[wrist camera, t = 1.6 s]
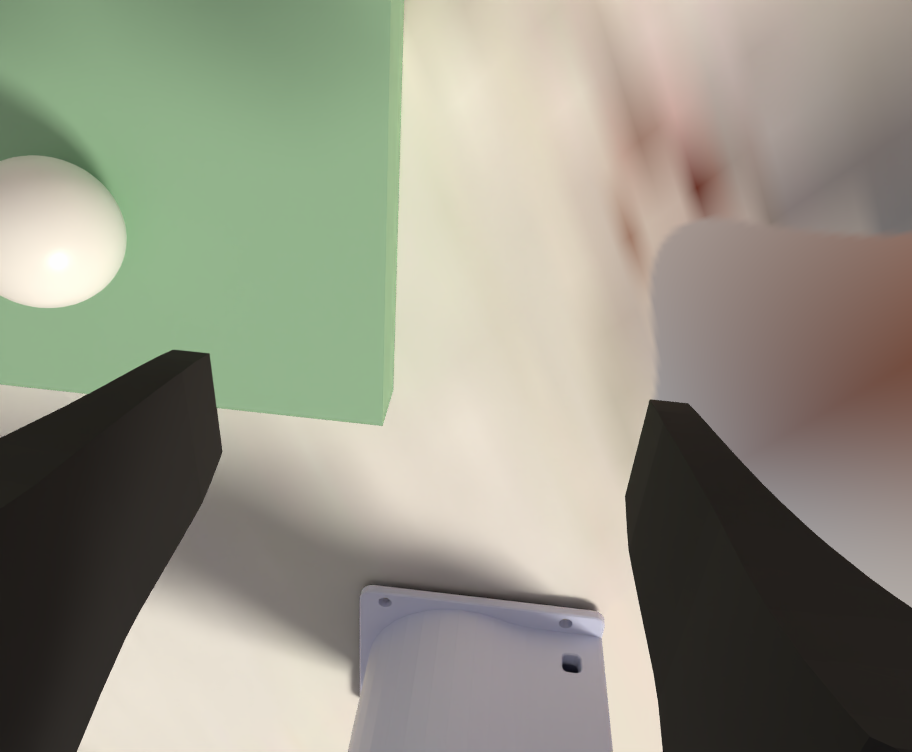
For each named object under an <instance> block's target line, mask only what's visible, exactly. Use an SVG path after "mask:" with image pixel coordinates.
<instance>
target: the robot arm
mask: <svg viewBox="0 0 912 752" xmlns="http://www.w3.org/2000/svg"><path fill="white" fill-rule="evenodd" d="M221 454H222V445H221V437H220V430H219V422H218V414H217V407H216V399H215V391H214V384H213V376H212V368H211V361H210V353H202V352H192V351H183V350H171V351H169V352H167V353H164V354H162V355H160V356H158V357H156V358H154V359H152V360H150V361H148V362H146V363H144V364H142V365H141V366H139V367H137V368H135V369H133V370H131V371H129V372H128V373H126V374H124V375H122V376H120V377H118V378H117V379H115V380H113V381H111V382H109V383H107V384H106V385H104V386H102V387H100V388H98V389H96V390H95V391H93V392H91V393H89V394H87V395H85V396H83V397H82V398H80V399H78V400H76V401H74V402H72V403H70V404H69V405H67V406H65V407H63V408H61V409H59V410H57V411H55V412H52V413H50V414H48V415H46V416H44V417H42V418H40V419H38V420H36V421H34V422H32V423H30V424H28V425H26V426H24V427H22V428H20V429H18V430H16V431H14V432H12V433H10V434H8V435H6V436H3V437H1V438H0V752H77V750H78V747H79V745H80V742H81V740H82V738H83V735H84V733H85V730H86V728H87V726H88V723H89V721H90V718H91V716H92V714H93V711H94V709H95V706H96V704H97V701H98V699H99V697H100V694H101V692H102V690H103V688H104V685H105V683H106V681H107V679H108V676H109V674H110V672H111V670H112V667H113V665H114V663H115V661H116V658H117V656H118V654H119V652H120V649H121V647H122V645H123V643H124V640H125V638H126V636H127V634H128V633H129V631H130V629H131V627H132V625H133V623H134V621H135V619H136V617H137V615H138V613H139V612H140V610H141V608H142V606H143V605H144V603H145V601H146V600H147V598H148V596H149V594H150V593H151V591H152V589H153V588H154V586H155V584H156V582H157V581H158V579H159V577H160V576H161V574H162V572H163V570H164V569H165V567H166V565H167V564H168V562H169V560H170V558H171V557H172V555H173V553H174V552H175V550H176V548H177V546H178V545H179V543H180V541H181V539H182V538H183V536H184V534H185V532H186V531H187V529H188V527H189V525H190V524H191V522H192V520H193V518H194V517H195V515H196V513H197V511H198V509H199V508H200V506H201V504H202V502H203V500H204V497H205V495H206V493H207V490H208V488H209V485H210V483H211V481H212V478H213V475H214V473H215V470H216V467H217V465H218V462H219V460H220V457H221ZM625 502H626V520H627V535H628V548H629V555H630V560H631V565H632V570H633V575H634V580H635V585H636V590H637V595H638V600H639V605H640V610H641V615H642V620H643V624H644V629H645V634H646V639H647V644H648V649H649V654H650V659H651V663H652V668H653V673H654V679H655V685H656V692H657V698H658V705H659V715H660V726H661V736H662V746H663V752H912V608H911V607H910V606H908V605H907V604H905V603H904V602H902V601H901V600H900V599H898V598H897V597H895V596H894V595H892V594H891V593H890V592H888V591H887V590H885V589H884V588H883V587H881V586H880V585H879V584H877V583H876V582H875V581H873V580H872V579H870V578H869V577H868V576H866V575H865V574H864V573H863V572H861V571H860V570H859V569H858V568H856V567H855V566H854V565H853V564H851V563H850V562H849V561H847V560H846V559H845V558H844V557H843V556H841V555H840V554H839V553H838V552H836V551H835V550H834V549H833V548H831V547H830V546H829V545H828V544H827V543H825V542H824V541H823V540H822V539H821V538H820V537H818V536H817V535H816V534H815V533H814V532H813V531H812V530H810V529H809V528H808V527H807V526H806V525H805V524H804V523H803V522H802V521H801V520H800V519H799V518H797V517H796V516H795V515H794V514H793V513H792V512H791V511H790V510H789V509H788V508H787V507H786V506H785V505H783V504H782V503H781V502H780V501H779V500H778V499H777V498H776V497H775V496H774V495H773V494H772V493H771V492H770V491H769V490H768V489H767V488H766V487H765V486H764V485H763V484H762V483H761V482H760V481H759V480H758V479H757V478H756V477H755V476H754V474H752V472H751V471H750V470H749V469H748V468H747V467H746V466H745V465H744V464H743V463H742V462H741V461H740V460H739V459H738V457H737V456H736V455H735V454H734V453H733V452H732V451H731V450H730V449H729V448H728V447H727V445H726V444H725V443H724V442H723V441H722V440H721V439H720V438H719V437H718V436H717V435H716V433H715V432H714V431H713V430H712V429H711V428H710V426H709V425H708V424H707V423H706V422H705V421H704V420H703V419H702V418H701V416H699V414H698V413H697V412H696V411H695V410H694V409H693V408H692V407H691V406H690V405H689V404H688V403H679V402H669V401H659V400H650V401H649V405H648V409H647V413H646V416H645V420H644V424H643V428H642V432H641V436H640V440H639V444H638V448H637V452H636V456H635V460H634V464H633V467H632V471H631V475H630V479H629V483H628V487H627V491H626V495H625ZM385 598H388V599H385ZM563 619H568V620H563ZM604 627H605V625H604V617H603V615H602V614H600V613H599V612H597V611H593V610H584V609H575V608H567V607H558V606H550V605H541V604H533V603H524V602H515V601H507V600H498V599H490V598H481V597H473V596H464V595H455V594H447V593H438V592H430V591H421V590H413V589H404V588H396V587H387V586H378V585H368V586H365V587H364V588H363V589H362V591H361V595H360V699H359V703H358V708H357V712H356V717H355V721H354V726H353V730H352V735H351V740H350V744H349V749H348V752H613V748H612V738H611V728H610V717H609V707H608V697H607V687H606V677H605V666H604V656H603V646H602V635H603V631H604Z"/></svg>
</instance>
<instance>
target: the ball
mask: <svg viewBox="0 0 912 752" xmlns="http://www.w3.org/2000/svg"><path fill="white" fill-rule="evenodd" d="M126 243H127V235H126V226H125V222H124V218H123V215H122V213H121V210H120V208H119V206H118V204H117V202H116V201H115V199H114V198H113V196H112V195H111V193H110V192H109V191H108V190H107V188H106V187H105V186H104V185H103V184H102V183H101V182H100V181H99V180H97V179H96V178H95V177H94V176H93V175H91V174H90V173H88V172H87V171H85V170H84V169H82V168H80V167H78V166H76V165H74V164H72V163H69V162H67V161H64V160H61V159H57V158H53V157H47V156H39V155H27V156H18V157H12V158H8V159H5V160H2V161H0V296H2V297H4V298H6V299H8V300H10V301H13V302H16V303H19V304H22V305H26V306H31V307H37V308H60V307H65V306H70V305H75V304H78V303H80V302H83V301H85V300H87V299H89V298H91V297H93V296H94V295H96V294H97V293H99V292H100V291H102V290H103V289H104V288H105V287H106V286H107V285H108V284H109V283H110V282H111V281H112V279H113V278H114V277H115V275H116V274H117V272H118V270H119V268H120V267H121V265H122V262H123V259H124V255H125V251H126Z"/></svg>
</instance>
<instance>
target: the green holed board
mask: <svg viewBox="0 0 912 752" xmlns="http://www.w3.org/2000/svg"><path fill="white" fill-rule="evenodd" d="M403 20H404V0H0V161H2V160H5V159H8V158H12V157H18V156H27V155H39V156H47V157H53V158H57V159H61V160H64V161H67V162H69V163H72V164H74V165H76V166H78V167H80V168H82V169H84V170H85V171H87V172H88V173H90V174H91V175H93V176H94V177H95V178H96V179H97V180H99V181H100V182H101V183H102V184H103V185H104V186H105V187H106V188H107V190H108V191H109V192H110V193H111V195H112V196H113V198H114V199H115V201H116V202H117V204H118V206H119V208H120V210H121V213H122V215H123V218H124V222H125V226H126V235H127V243H126V251H125V255H124V259H123V262H122V265H121V267H120V268H119V270H118V272H117V274H116V275H115V277H114V278H113V279H112V281H111V282H110V283H109V284H108V285H107V286H106V287H105V288H104V289H103V290H102V291H100V292H99V293H97V294H96V295H94V296H93V297H91V298H89V299H87V300H85V301H83V302H80V303H78V304H75V305H70V306H65V307H60V308H37V307H31V306H26V305H22V304H19V303H16V302H13V301H10V300H8V299H6V298H4V297H2V296H0V384H1V385H11V386H20V387H29V388H38V389H47V390H57V391H66V392H75V393H84V394H89V393H91V392H93V391H95V390H96V389H98V388H100V387H102V386H104V385H106V384H107V383H109V382H111V381H113V380H115V379H117V378H118V377H120V376H122V375H124V374H126V373H128V372H129V371H131V370H133V369H135V368H137V367H139V366H141V365H142V364H144V363H146V362H148V361H150V360H152V359H154V358H156V357H158V356H160V355H162V354H164V353H167V352H169V351H171V350H183V351H192V352H202V353H210V361H211V368H212V376H213V384H214V391H215V399H216V407H217V408H222V409H232V410H241V411H250V412H259V413H268V414H278V415H287V416H296V417H305V418H314V419H324V420H333V421H342V422H351V423H360V424H370V425H379V426H383V423H384V419H385V416H386V412H387V409H388V406H389V402H390V399H391V395H392V392H393V376H394V341H395V305H396V269H397V234H398V198H399V163H400V127H401V92H402V56H403Z"/></svg>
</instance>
